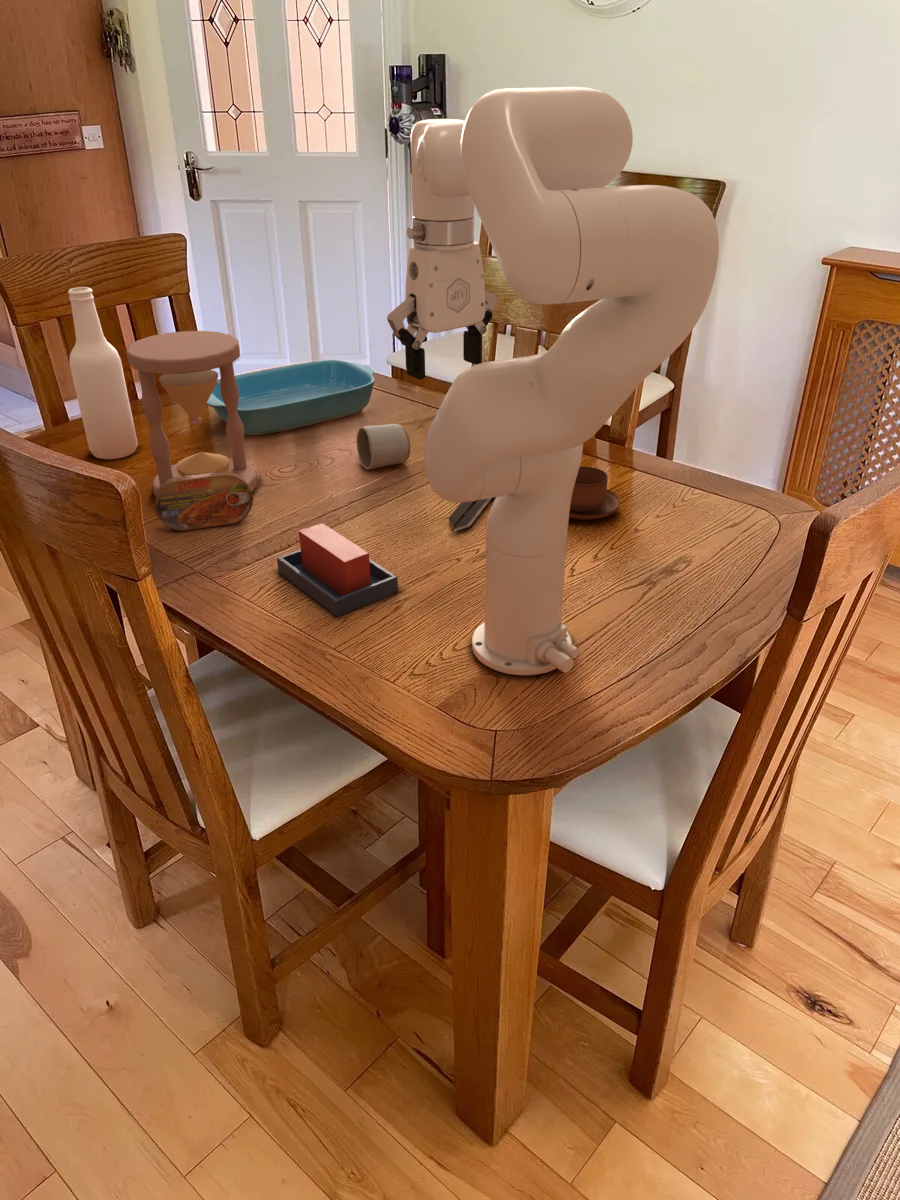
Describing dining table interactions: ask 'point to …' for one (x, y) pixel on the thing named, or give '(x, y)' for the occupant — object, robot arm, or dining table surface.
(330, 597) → the tray
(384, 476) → the dining table surface
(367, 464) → the ceramic mug
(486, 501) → the knife
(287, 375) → the casserole dish
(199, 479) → the tin
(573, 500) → the cup and saucer
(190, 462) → the hourglass
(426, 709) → the dining table surface
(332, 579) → the bar
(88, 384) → the alcohol
